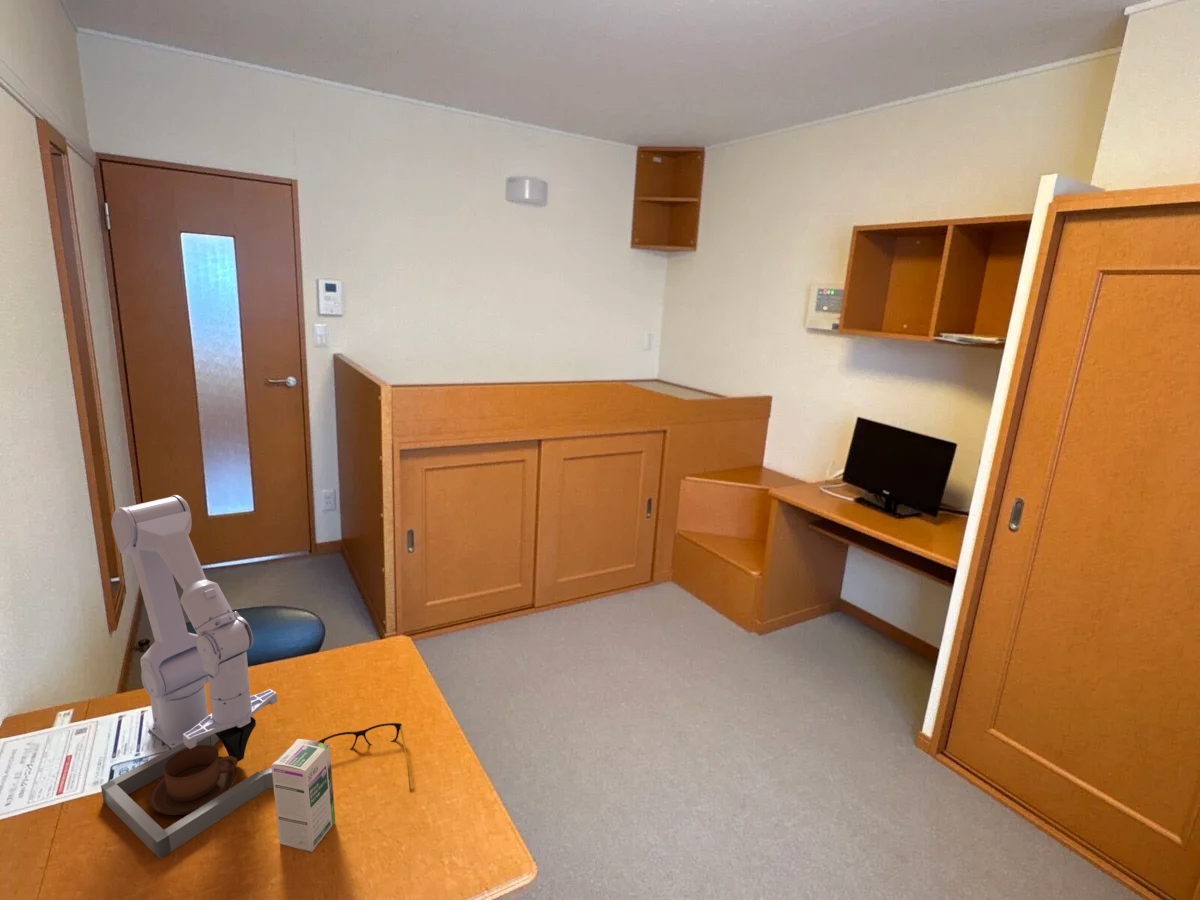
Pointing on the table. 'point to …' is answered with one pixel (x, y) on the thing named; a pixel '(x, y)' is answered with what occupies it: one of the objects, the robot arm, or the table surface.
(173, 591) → the robot arm
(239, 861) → the table surface
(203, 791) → the cup and saucer
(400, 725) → the eyeglasses
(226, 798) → the bent grey bar frame
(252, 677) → the table surface
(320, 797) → the syrup box
